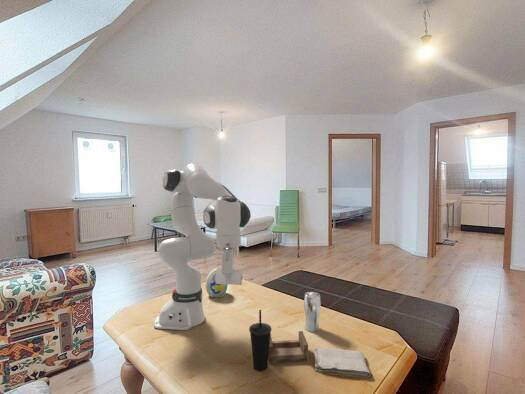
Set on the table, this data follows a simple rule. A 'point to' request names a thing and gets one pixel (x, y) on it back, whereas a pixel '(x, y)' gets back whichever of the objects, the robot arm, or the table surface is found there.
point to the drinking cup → (260, 344)
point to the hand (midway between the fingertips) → (228, 278)
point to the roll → (235, 277)
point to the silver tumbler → (312, 311)
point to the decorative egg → (215, 286)
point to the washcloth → (341, 362)
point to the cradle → (288, 350)
